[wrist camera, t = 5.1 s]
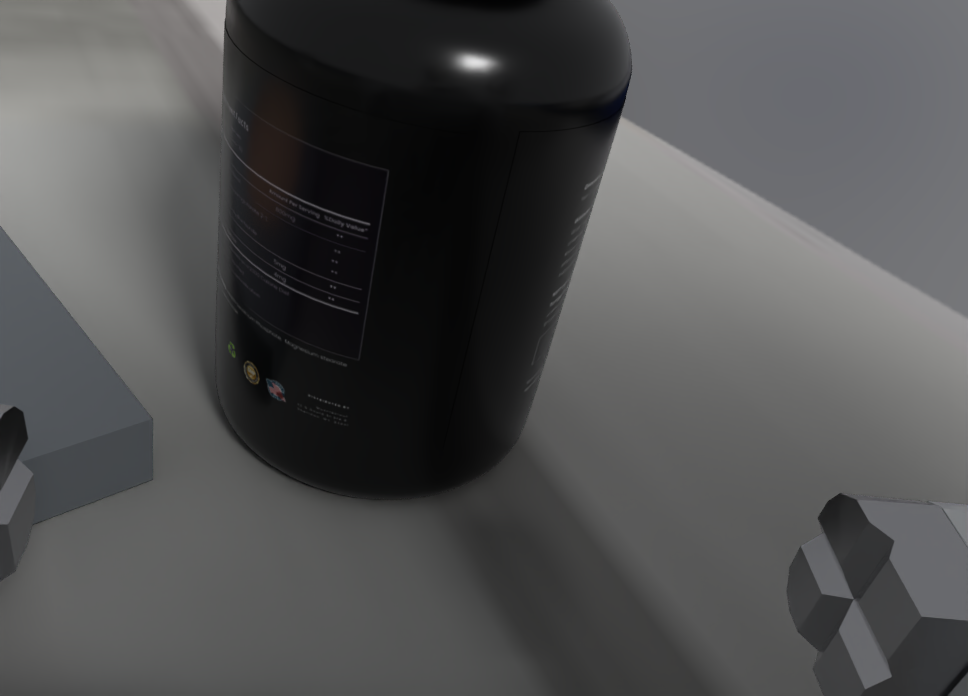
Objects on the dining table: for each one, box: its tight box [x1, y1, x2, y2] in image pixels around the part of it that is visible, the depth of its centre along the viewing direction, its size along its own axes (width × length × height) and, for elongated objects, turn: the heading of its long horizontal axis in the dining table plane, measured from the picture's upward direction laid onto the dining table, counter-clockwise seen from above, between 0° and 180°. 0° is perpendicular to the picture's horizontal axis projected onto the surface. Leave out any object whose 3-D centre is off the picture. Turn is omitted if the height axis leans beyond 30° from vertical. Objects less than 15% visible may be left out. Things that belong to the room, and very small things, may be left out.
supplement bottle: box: [215, 0, 632, 500], centre depth 16 cm, size 7×7×12 cm
